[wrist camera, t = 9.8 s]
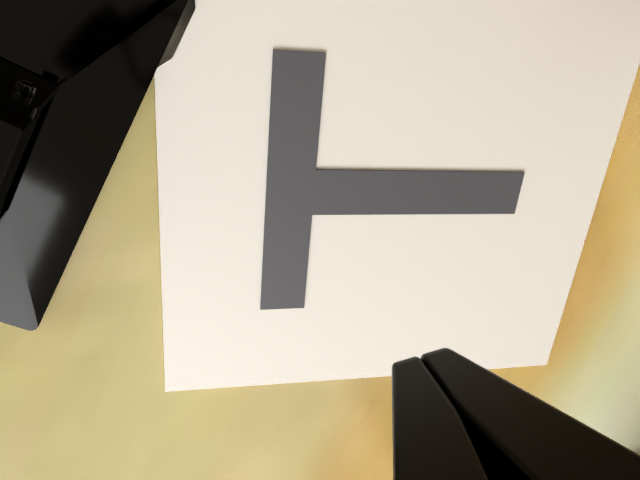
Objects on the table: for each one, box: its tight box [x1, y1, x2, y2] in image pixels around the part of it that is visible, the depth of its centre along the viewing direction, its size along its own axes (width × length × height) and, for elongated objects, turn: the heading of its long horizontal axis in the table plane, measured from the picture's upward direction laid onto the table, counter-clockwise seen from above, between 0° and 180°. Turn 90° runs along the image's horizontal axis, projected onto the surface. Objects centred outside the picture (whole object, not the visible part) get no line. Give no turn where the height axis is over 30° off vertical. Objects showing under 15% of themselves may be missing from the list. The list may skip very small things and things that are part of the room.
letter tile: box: [154, 0, 640, 392], centre depth 21 cm, size 16×16×1 cm
